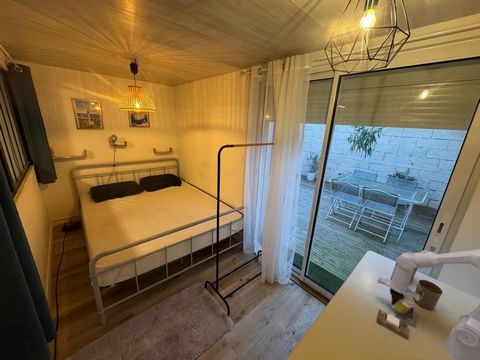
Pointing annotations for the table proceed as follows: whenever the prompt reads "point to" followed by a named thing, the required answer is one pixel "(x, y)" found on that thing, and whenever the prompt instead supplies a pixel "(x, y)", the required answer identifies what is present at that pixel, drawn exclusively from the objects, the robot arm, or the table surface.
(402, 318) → the lockout bracket
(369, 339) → the table surface
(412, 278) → the ink cartridge box
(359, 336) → the table surface
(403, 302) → the supplement bottle
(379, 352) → the table surface
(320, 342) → the table surface
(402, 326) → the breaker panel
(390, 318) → the button
